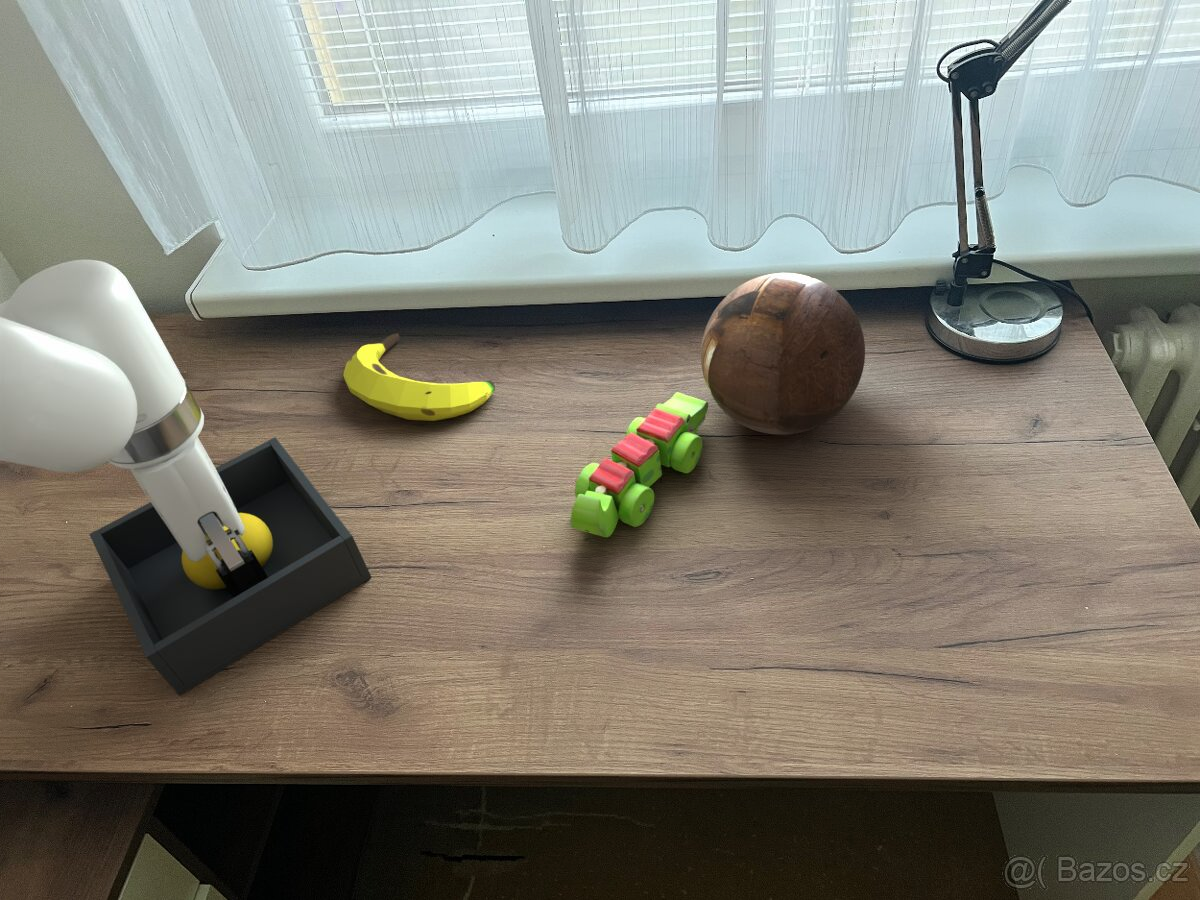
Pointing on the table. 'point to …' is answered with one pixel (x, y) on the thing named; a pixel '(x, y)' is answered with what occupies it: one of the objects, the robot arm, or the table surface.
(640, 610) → the table surface
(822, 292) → the wooden sphere
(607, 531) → the toy crocodile
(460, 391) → the banana
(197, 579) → the yellow rounded tiered object
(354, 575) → the crate
